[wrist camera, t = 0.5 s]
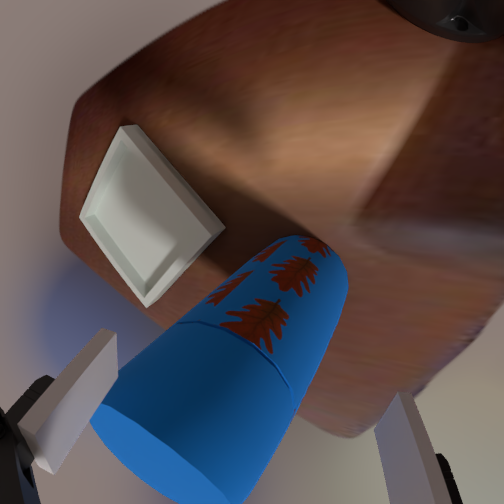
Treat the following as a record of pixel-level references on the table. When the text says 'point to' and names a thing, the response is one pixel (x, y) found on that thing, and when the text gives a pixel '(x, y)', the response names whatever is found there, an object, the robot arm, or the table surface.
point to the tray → (146, 215)
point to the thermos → (227, 376)
